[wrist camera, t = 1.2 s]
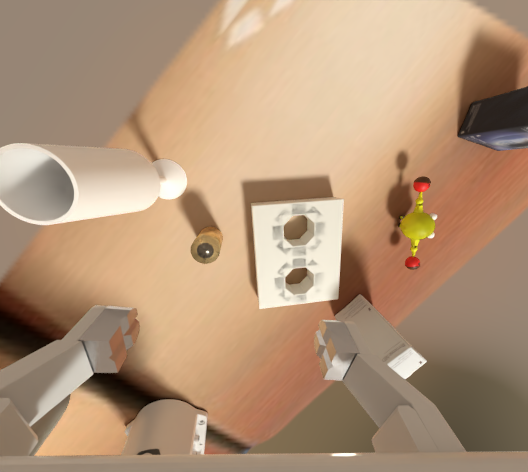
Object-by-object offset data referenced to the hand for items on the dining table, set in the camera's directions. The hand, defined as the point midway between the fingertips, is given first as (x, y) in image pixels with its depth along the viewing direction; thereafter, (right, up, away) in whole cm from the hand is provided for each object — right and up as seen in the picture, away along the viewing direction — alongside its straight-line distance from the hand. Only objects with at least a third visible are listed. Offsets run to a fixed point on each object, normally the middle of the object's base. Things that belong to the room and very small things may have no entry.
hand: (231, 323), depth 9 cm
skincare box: (+22, -14, +39) cm, 47 cm away
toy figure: (+30, +7, +34) cm, 46 cm away
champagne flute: (-15, +14, +26) cm, 33 cm away
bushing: (-9, +4, +30) cm, 31 cm away
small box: (+44, +25, +30) cm, 59 cm away
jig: (+7, +1, +32) cm, 33 cm away
